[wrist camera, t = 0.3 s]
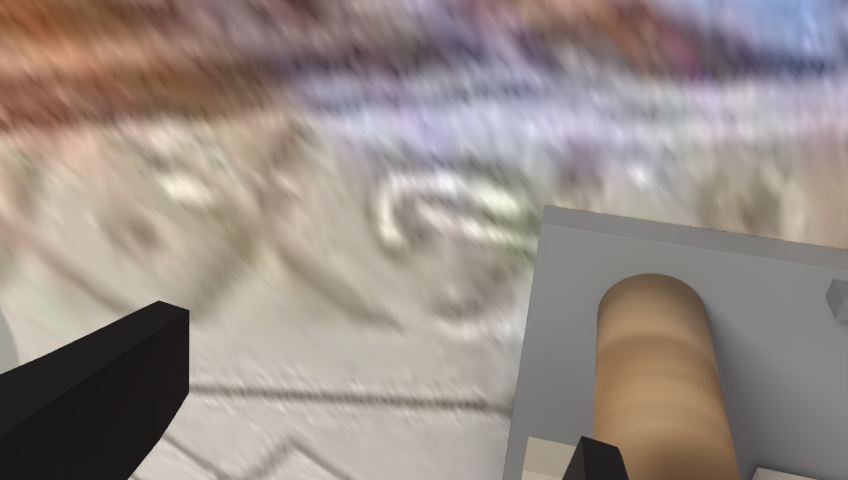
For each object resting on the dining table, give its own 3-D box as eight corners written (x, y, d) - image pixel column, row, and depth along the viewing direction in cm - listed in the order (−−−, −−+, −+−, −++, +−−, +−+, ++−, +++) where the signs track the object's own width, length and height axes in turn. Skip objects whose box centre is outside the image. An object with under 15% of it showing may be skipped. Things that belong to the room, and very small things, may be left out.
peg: (691, 366, 20) (718, 537, 15) (589, 348, 21) (581, 506, 15) (718, 283, 18) (757, 440, 13) (607, 265, 19) (604, 410, 14)
